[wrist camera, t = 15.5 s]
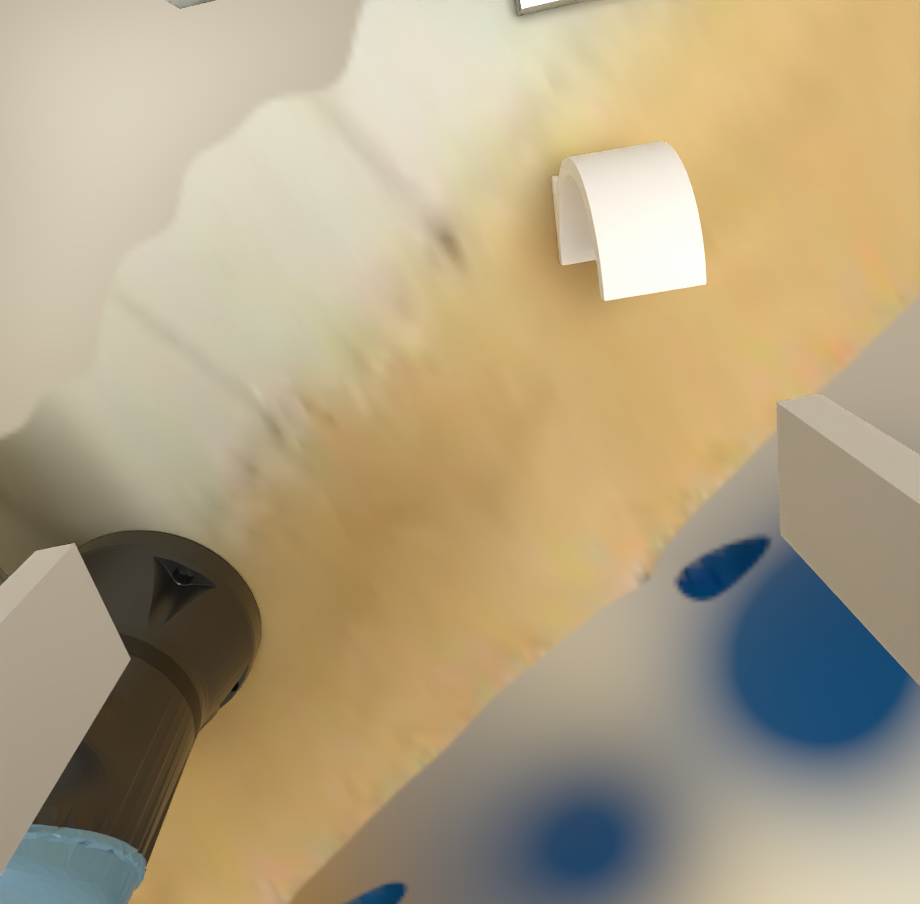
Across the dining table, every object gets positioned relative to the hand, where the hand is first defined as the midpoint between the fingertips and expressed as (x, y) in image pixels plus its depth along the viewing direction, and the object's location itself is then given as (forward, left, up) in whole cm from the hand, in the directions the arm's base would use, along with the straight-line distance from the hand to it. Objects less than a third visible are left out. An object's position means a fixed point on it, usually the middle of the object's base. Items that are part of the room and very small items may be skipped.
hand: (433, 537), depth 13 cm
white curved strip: (+10, +2, -32) cm, 33 cm away
